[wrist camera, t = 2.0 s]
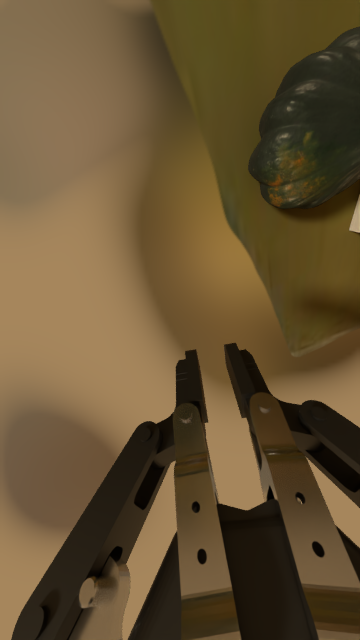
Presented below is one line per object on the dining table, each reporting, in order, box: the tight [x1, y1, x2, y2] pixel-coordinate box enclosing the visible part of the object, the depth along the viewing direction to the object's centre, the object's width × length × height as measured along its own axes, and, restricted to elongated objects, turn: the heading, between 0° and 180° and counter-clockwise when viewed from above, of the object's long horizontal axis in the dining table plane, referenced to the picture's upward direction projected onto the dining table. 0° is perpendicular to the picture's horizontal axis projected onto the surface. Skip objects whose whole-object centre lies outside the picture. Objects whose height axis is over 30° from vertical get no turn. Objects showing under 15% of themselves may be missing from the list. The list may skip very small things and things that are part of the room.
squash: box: [248, 27, 360, 209], centre depth 23 cm, size 14×15×15 cm
